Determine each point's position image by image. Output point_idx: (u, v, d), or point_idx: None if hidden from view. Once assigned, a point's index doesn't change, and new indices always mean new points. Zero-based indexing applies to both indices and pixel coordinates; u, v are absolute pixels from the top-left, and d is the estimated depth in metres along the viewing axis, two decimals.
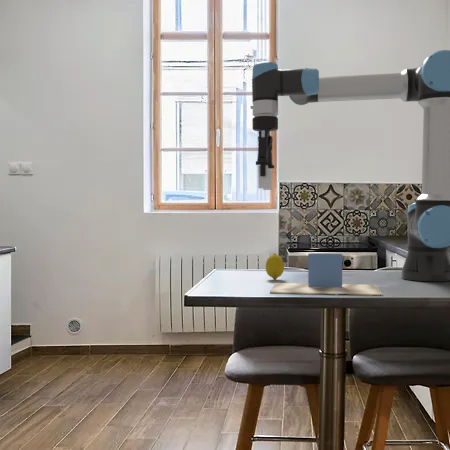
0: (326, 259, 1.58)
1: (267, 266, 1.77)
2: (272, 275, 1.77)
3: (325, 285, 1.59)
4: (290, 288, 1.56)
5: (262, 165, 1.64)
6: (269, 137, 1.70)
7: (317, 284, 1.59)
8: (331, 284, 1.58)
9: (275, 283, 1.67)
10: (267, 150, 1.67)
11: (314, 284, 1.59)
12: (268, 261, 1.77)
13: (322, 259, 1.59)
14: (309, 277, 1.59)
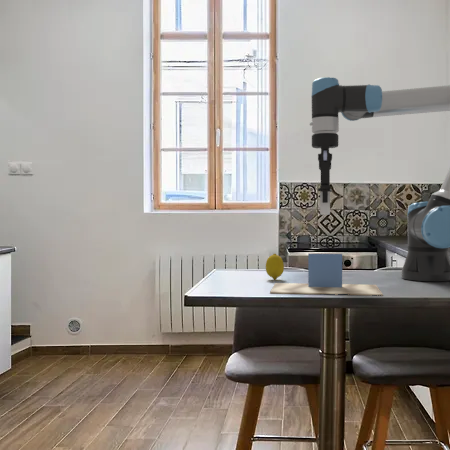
0: (326, 259, 1.58)
1: (267, 266, 1.77)
2: (272, 275, 1.77)
3: (325, 285, 1.59)
4: (290, 288, 1.56)
5: (324, 191, 1.63)
6: (330, 156, 1.65)
7: (317, 284, 1.59)
8: (331, 284, 1.58)
9: (275, 283, 1.67)
10: None
11: (314, 284, 1.59)
12: (268, 261, 1.77)
13: (322, 259, 1.59)
14: (309, 277, 1.59)
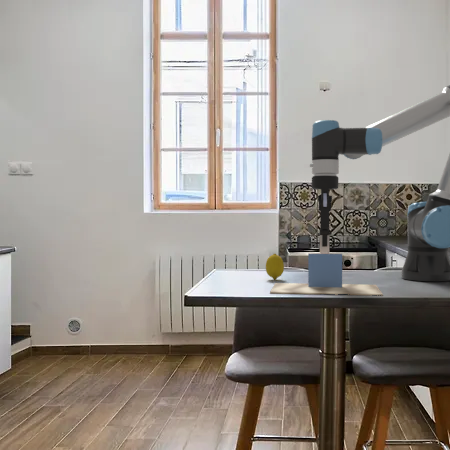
0: (326, 259, 1.58)
1: (267, 266, 1.77)
2: (272, 275, 1.77)
3: (325, 285, 1.59)
4: (290, 288, 1.56)
5: (324, 236, 1.66)
6: (329, 199, 1.66)
7: (317, 284, 1.59)
8: (331, 284, 1.58)
9: (275, 283, 1.67)
10: None
11: (314, 284, 1.59)
12: (268, 261, 1.77)
13: (322, 259, 1.59)
14: (309, 277, 1.59)
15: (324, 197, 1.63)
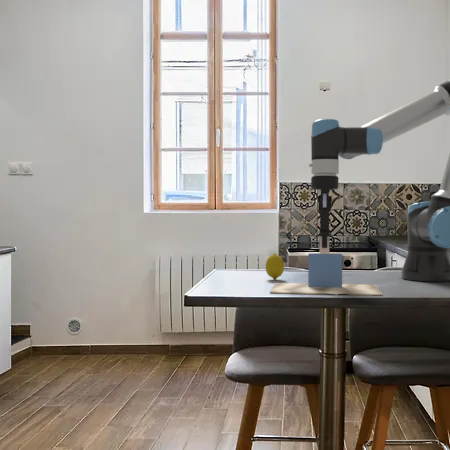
0: (326, 259, 1.58)
1: (267, 266, 1.77)
2: (272, 275, 1.77)
3: (325, 285, 1.59)
4: (290, 288, 1.56)
5: (324, 237, 1.63)
6: (329, 199, 1.62)
7: (317, 284, 1.59)
8: (331, 284, 1.58)
9: (275, 283, 1.67)
10: None
11: (314, 284, 1.59)
12: (268, 261, 1.77)
13: (322, 259, 1.59)
14: (309, 277, 1.59)
15: (324, 197, 1.60)
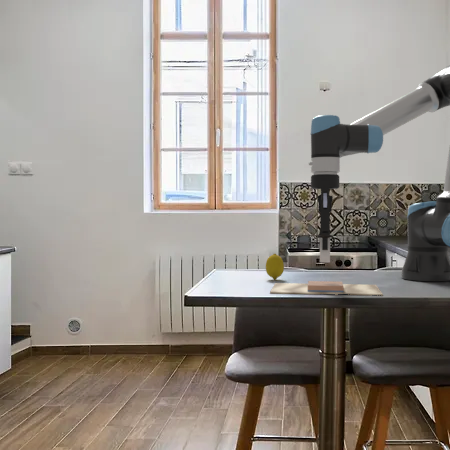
0: None
1: (267, 266, 1.77)
2: (272, 275, 1.77)
3: None
4: (290, 288, 1.56)
5: (324, 238, 1.56)
6: (330, 199, 1.55)
7: None
8: None
9: (275, 283, 1.67)
10: None
11: None
12: (268, 261, 1.77)
13: None
14: None
15: (324, 197, 1.52)
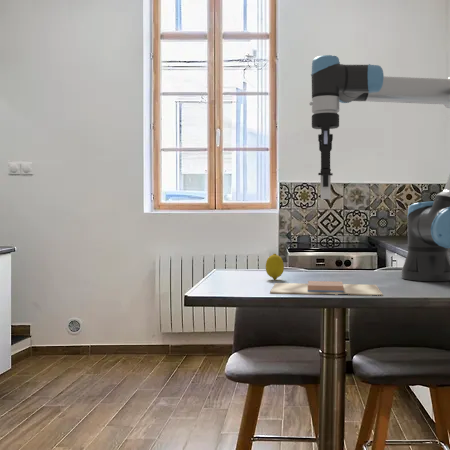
0: None
1: (267, 266, 1.77)
2: (272, 275, 1.77)
3: None
4: (290, 288, 1.56)
5: (325, 175, 1.61)
6: (330, 137, 1.60)
7: None
8: None
9: (275, 283, 1.67)
10: None
11: None
12: (268, 261, 1.77)
13: None
14: None
15: (325, 134, 1.58)
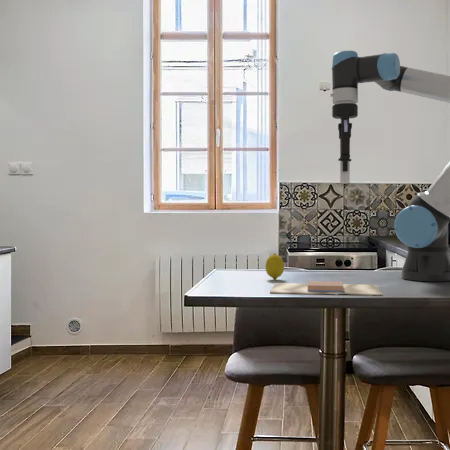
0: None
1: (267, 266, 1.77)
2: (272, 275, 1.77)
3: None
4: (290, 288, 1.56)
5: (345, 161, 1.75)
6: (350, 126, 1.75)
7: None
8: None
9: (275, 283, 1.67)
10: None
11: None
12: (268, 261, 1.77)
13: None
14: None
15: (345, 123, 1.72)
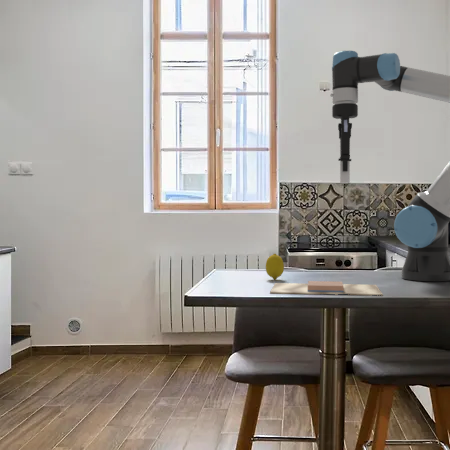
0: None
1: (267, 266, 1.77)
2: (272, 275, 1.77)
3: None
4: (290, 288, 1.56)
5: (345, 161, 1.75)
6: (350, 126, 1.75)
7: None
8: None
9: (275, 283, 1.67)
10: None
11: None
12: (268, 261, 1.77)
13: None
14: None
15: (345, 123, 1.72)
